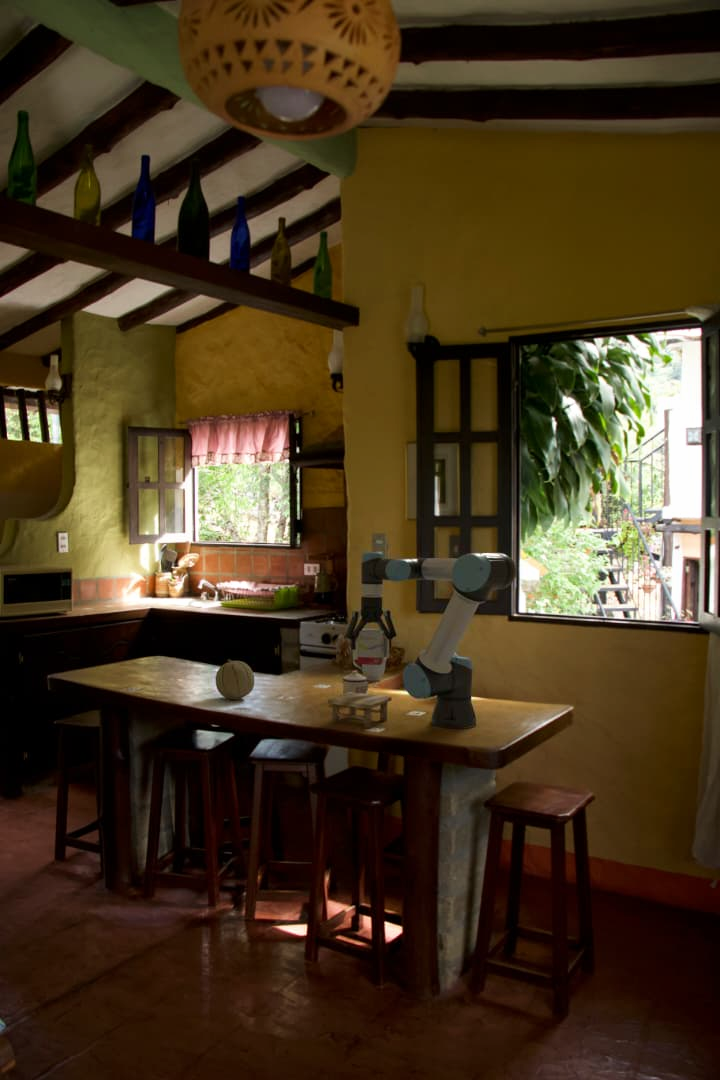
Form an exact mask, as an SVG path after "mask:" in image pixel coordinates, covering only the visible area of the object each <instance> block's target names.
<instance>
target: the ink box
mask: <svg viewBox="0 0 720 1080" xmlns="http://www.w3.org/2000/svg"><path fill="white" fill-rule="evenodd" d="M385 638H386V636H385V633H384V630H381V628H380V629H378V628H369V627H368V628H363V629H362V631H360V633H359V636H358V637H357V641H358V659H357V660H356V664H357V665H362V664H367V665H381V664H382V663H383V662H384V643H385Z"/></svg>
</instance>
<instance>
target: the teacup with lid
mask: <svg viewBox="0 0 720 1080" xmlns="http://www.w3.org/2000/svg"><path fill="white" fill-rule="evenodd" d="M342 681H343V682H342V684H343V685H342V695H343V694H346V693H349V692H355V693H363V694H367V692H368V690H369V682H368V680H367V677H366V676H365V675H362V674H361V673H359V672H358V670H352V672H351V673H349V674H347V675H345V676H343V677H342Z"/></svg>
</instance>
